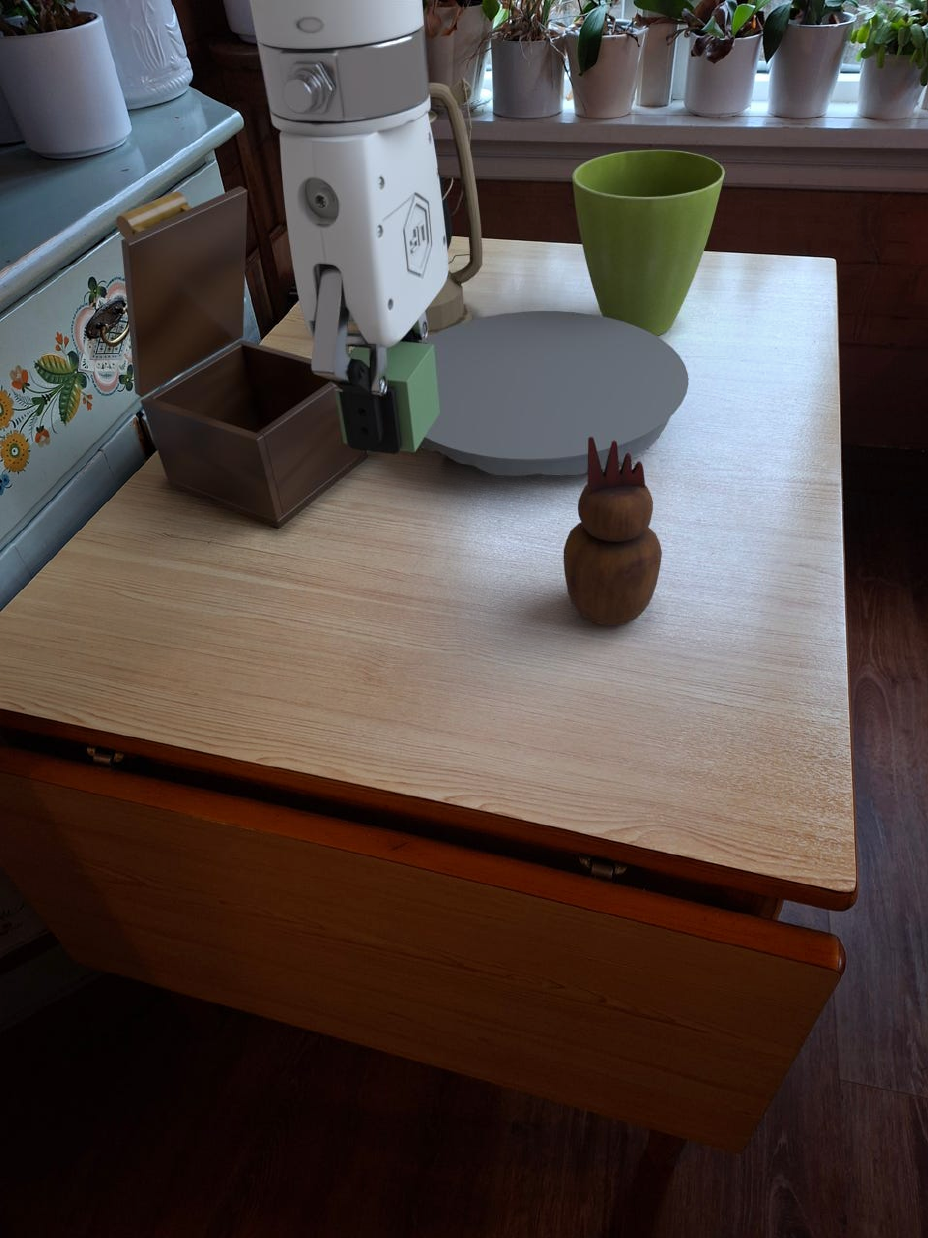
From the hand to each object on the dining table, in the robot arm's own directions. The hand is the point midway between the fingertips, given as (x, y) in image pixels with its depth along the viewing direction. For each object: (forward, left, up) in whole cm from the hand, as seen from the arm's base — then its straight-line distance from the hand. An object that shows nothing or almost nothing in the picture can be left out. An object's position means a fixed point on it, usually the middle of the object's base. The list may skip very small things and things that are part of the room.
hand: (391, 422), depth 54 cm
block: (0, 0, 0) cm, 0 cm away
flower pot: (+32, +44, -18) cm, 57 cm away
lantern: (+9, +52, -18) cm, 55 cm away
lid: (-13, +29, -2) cm, 32 cm away
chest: (-10, +26, -18) cm, 33 cm away
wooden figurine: (+14, 0, -18) cm, 23 cm away
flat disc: (+16, +28, -18) cm, 37 cm away
